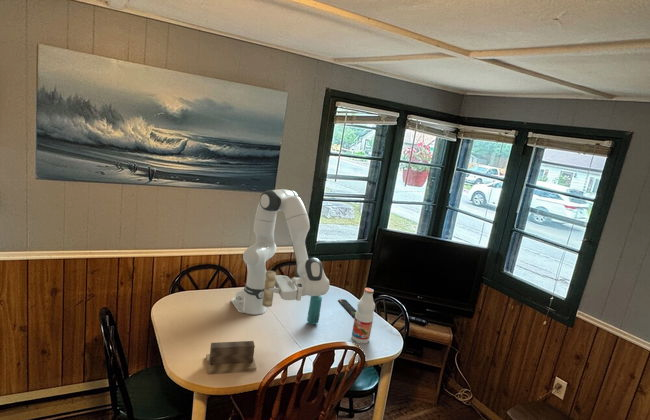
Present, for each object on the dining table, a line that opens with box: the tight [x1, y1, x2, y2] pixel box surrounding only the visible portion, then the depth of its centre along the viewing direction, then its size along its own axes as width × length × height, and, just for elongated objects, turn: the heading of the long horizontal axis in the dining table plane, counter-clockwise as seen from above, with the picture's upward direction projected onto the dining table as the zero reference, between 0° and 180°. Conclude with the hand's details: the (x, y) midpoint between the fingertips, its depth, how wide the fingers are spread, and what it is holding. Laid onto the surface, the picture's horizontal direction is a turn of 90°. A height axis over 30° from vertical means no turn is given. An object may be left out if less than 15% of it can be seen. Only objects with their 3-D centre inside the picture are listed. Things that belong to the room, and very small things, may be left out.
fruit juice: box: [351, 287, 376, 344], centre depth 213 cm, size 9×9×28 cm
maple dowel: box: [262, 270, 277, 308], centre depth 190 cm, size 4×4×16 cm
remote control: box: [337, 298, 357, 319], centre depth 249 cm, size 5×24×1 cm, turn 23°
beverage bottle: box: [306, 295, 323, 325], centre depth 222 cm, size 6×7×20 cm
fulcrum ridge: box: [205, 340, 257, 375], centre depth 177 cm, size 20×12×10 cm, turn 109°
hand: (267, 286), depth 190 cm, fingers closed on maple dowel, 4 cm apart
